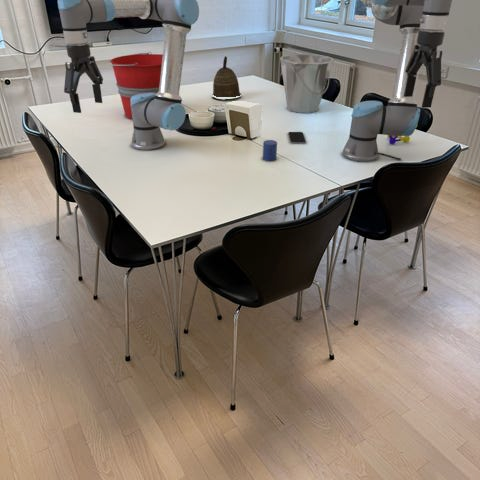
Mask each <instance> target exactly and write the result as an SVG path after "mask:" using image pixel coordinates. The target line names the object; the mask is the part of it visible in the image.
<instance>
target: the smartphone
mask: <svg viewBox="0 0 480 480" xmlns="http://www.w3.org/2000/svg"><path fill="white" fill-rule="evenodd" d="M288 138H289V142H290V144H306V142H307V141H306V138H305V135H304V132H303V131H288Z"/></svg>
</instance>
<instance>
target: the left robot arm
mask: <svg viewBox="0 0 480 480" xmlns="http://www.w3.org/2000/svg"><path fill="white" fill-rule="evenodd" d="M57 8H58V11H59V16H60V21H61V27H62V33H63V38H64V43H65V44H66V47H65V48H66V54H67V56H68V58H70V61H71V62H70V61H69V62H68V61H65V63H64V64H65V65H64V66H65V77H64V88H63V92H64V94H69V98H70V103H71V107H72V112H73V113H77V114H81V113H82V109H81V103H80V98H79V97H80V96H79V93H77V92H78V91H77V90H78V86H79V82H80V78H81V77H82V75H84V74H85V73H86V75H87V76H88V78H89V80H91V82H92V83H93V84H91V85H92V92H93V98H94V103H96V104H102V103H103V96H102V88H101V85H103V83H104V82H103V81H104V78H103V76H102V73H101V71H100V69H99V67H98V65H97V63H96V57H95V56H93V55H91V54H92V53H91V47H90V44H88V43H89V36H88V30H87V24H92V23H93V24H95V23H106V22H110V21H113V20H114V19H115V18H133V17H134V18H135V17H138V18H140V19H141V20H154V21H159V22H161V23H162V24H161V25H162V27H163V28H164V30H165V32H164V41H163V47H162V48H163V49H162V55H163V58H162V67H161V76H160V85H159V91H158V92H157V93H156V94H155V93H143V94H137V95H134V96H132V97H131V105H130V106H131V111H132V119H133V120H132V119H131V120H132V125H133V132H132V135H131V142H130V143H131V147H132V148H134V149H135V150H141V151H151V150H153V151H154V150H157V149H161V148H163V147H164V146H165V144H166V140H165V137H164V135H163V132H162V130H161V129H163V130H164V131H165V130H166V131H167V130H168V131H176V130H178V129H179V128H180V127H182V125H183V124H184V122H185V120H186V116H187V115H186V114H187V111H186V108H185V106H184V105H183V104H182V103H183V98H182V97H181V96H180V89H181V81H182V74H183V65H184V59H185V58H184V57H185V49H186V48H185V47H186V41H187V35H188V34H189V33H190V32H191V30H192V25H194V24H196V23H197V21H198V20H199V16H200V6H199V2H198V1H197V0H57Z"/></svg>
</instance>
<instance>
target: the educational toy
mask: <svg viewBox="0 0 480 480" xmlns="http://www.w3.org/2000/svg"><path fill="white" fill-rule="evenodd" d="M417 127H418V123H417V126H416V128H417ZM387 138H388V142H389V145H395V144H396V143H397V142H402V141H403V142H404V143H409V142H410V140H411V138H410V136H394V135H387Z"/></svg>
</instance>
